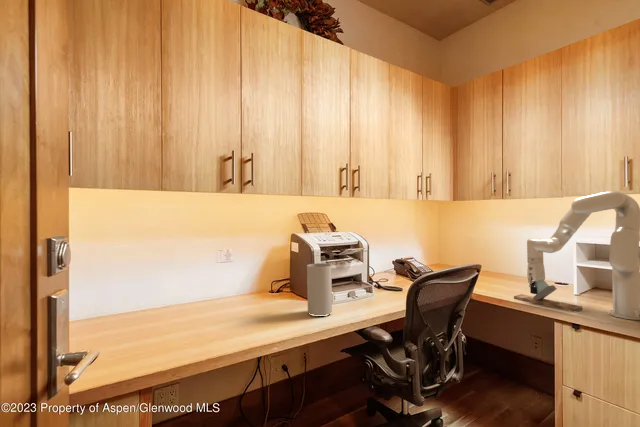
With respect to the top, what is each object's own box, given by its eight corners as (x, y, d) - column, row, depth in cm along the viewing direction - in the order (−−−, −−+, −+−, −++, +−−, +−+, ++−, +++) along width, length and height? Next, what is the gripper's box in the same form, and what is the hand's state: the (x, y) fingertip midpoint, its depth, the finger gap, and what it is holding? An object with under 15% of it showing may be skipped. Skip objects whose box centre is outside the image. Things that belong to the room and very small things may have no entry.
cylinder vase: (316, 308, 173) (315, 262, 173) (336, 312, 166) (335, 264, 166) (302, 315, 162) (302, 266, 162) (323, 319, 155) (322, 267, 156)
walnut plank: (582, 309, 164) (582, 306, 164) (574, 311, 161) (574, 308, 161) (521, 296, 191) (521, 294, 191) (513, 298, 187) (513, 296, 187)
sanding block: (557, 288, 173) (544, 276, 179) (551, 290, 170) (538, 277, 176) (542, 298, 180) (531, 286, 185) (537, 300, 177) (525, 287, 182)
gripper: (534, 262, 173) (535, 296, 173) (550, 260, 181) (551, 292, 181) (520, 261, 179) (520, 293, 179) (536, 258, 187) (536, 289, 187)
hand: (536, 292), depth 180 cm, fingers closed on sanding block, 4 cm apart
